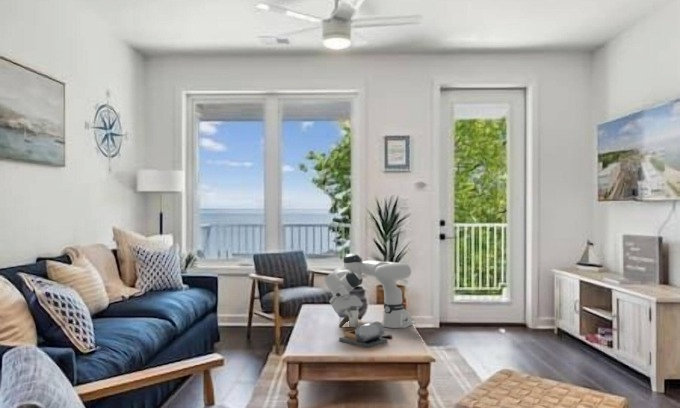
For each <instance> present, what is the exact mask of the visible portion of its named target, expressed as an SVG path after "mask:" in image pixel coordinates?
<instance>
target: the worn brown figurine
mask: <svg viewBox="0 0 680 408" xmlns="http://www.w3.org/2000/svg"><path fill="white" fill-rule="evenodd" d="M348 312H349V311H348ZM348 321H349V317H348V315H346V314H345V316H344V317H343V319H342V320H341V321H340V323H339V324H338V327H339V328H341V327H342V326H343V325H344V324H345V323H346V322H348Z"/></svg>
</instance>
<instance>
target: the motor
mask: <svg viewBox="0 0 680 408" xmlns="http://www.w3.org/2000/svg"><path fill="white" fill-rule="evenodd" d="M381 323H382V322H380V321H372V322H369V323H365V324H361V325H358V327H355V329H353V330H349V331H346V332H344V336H340V337H338V342H342V343H345V344H350V345H353V346H359V347H363V348H367V349H370V348H374V347H377V346H380V345H383V344H386V343H388V338H386V337H383V336H384V333H385V329H384V328H385V327H384V326H383V325H382V324H381Z"/></svg>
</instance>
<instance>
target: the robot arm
mask: <svg viewBox="0 0 680 408" xmlns="http://www.w3.org/2000/svg"><path fill="white" fill-rule="evenodd" d="M342 259H343V260H342V262H343V266H339V267H337V268H335V269H334V271H331V272H330V273H328V274H327V275H326V276H325V277H324V278H323V281H324V283H325V285H326V287H327V290H328V291H329V293H330V295H331V296H332V297H330V300H329V304H331V307H332V309H333V311H334V312H335V313H337V314H340V313H343V314H345V316H346V315H348V317H351V316H352V314H351V313H349V312H348V311H349V310H350V309H351V306H357V310H358V316H360V312H359V309H361V308H362V307H363V305H364V303H363V302H362V301H361V299H360V298H359V296H357V295H355V294H354V293H353V294H350V292H352V291H353V290H355V288H357V287H358V286H361V285H362V284H363V275H366V276H367V277H371V278H375V279H376V281H378V282H379V283H380V284H381V286H382V288H383V295H384V296H383V298H384V301H383V311H382V321H381V322H380V323H381V324H382V325H383V327H384V328H390V329H392V328H393V329H396V328H398V329H399V328H400V329H404V328H405V329H406V328H408V327H410V326H413V325H415V324H416V322H415V320H412V315H411V313H410V312H409V311H407V310H406V309H405V307H407V305H408V304H407V303H406V302H403V291H402V289H401V287H398V286H397V283H396V282H398V281H403V280H406V279H408V278H409V277H410V276H411V274H412V273H411V272H412V269H411V267H410V265H409V264H407V263H404V262H393V261H380V260H375V259H374V260H373V259H372V260H371V259H367V260H363V258H362V257H360V256H359V255H358V254H356V253H348V254H346V255H344V257H343V258H342Z"/></svg>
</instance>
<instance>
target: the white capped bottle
mask: <svg viewBox="0 0 680 408" xmlns="http://www.w3.org/2000/svg"><path fill="white" fill-rule="evenodd" d="M358 310H359V309H358ZM358 310H357V306H351V309H350V310H349V313H351V314H352V316H351V317H349V326H351V327H350V328H357V326H359V315H358Z"/></svg>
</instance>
